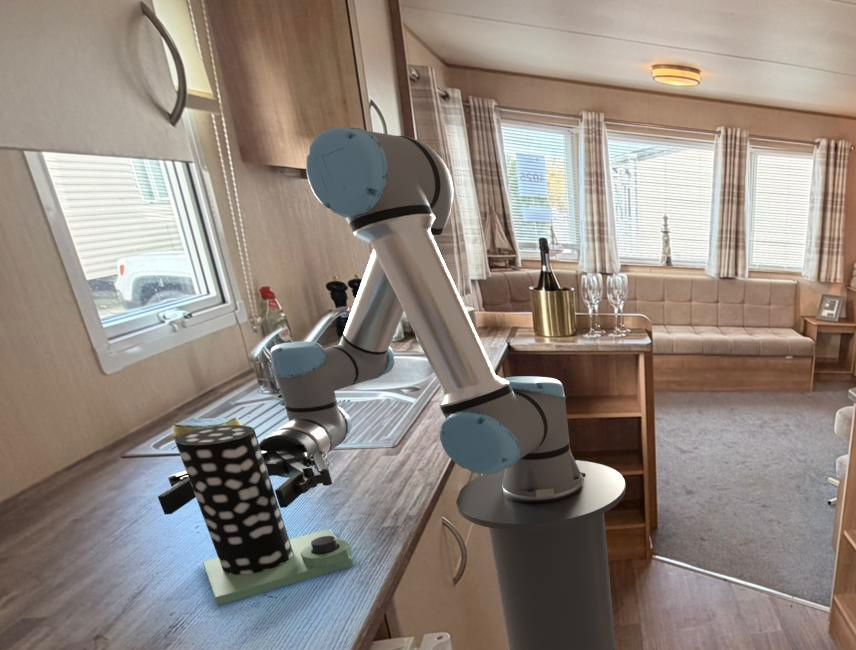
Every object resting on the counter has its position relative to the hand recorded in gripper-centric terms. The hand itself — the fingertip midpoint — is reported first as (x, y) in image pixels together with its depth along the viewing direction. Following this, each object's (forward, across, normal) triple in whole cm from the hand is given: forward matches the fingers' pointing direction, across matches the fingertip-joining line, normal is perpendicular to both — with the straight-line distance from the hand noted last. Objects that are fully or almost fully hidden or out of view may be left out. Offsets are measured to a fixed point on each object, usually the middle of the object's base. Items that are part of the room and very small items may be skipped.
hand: (223, 502), depth 88 cm
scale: (-3, -2, -13) cm, 13 cm away
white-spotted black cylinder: (-3, 0, -11) cm, 12 cm away
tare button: (-3, -9, -10) cm, 14 cm away
